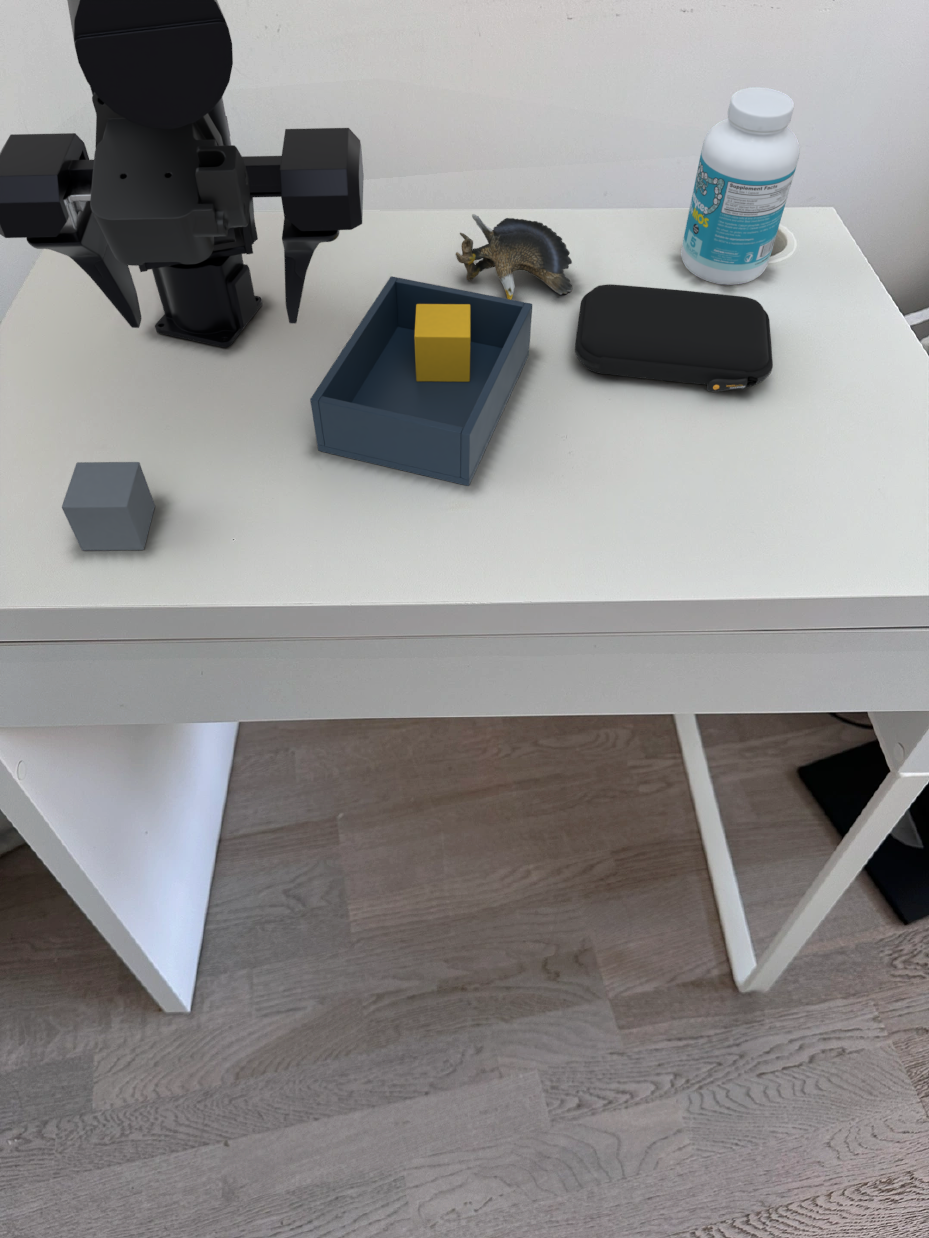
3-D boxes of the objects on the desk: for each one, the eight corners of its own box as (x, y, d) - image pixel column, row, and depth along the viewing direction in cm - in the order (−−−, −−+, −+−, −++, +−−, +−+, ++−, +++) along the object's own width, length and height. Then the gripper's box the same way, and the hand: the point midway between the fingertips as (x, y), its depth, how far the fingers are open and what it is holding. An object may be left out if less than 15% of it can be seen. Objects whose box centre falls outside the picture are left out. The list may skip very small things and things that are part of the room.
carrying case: (569, 389, 70) (768, 410, 69) (573, 355, 68) (780, 376, 67) (580, 306, 77) (762, 324, 76) (584, 273, 74) (773, 290, 73)
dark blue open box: (317, 451, 66) (309, 399, 63) (393, 327, 75) (390, 276, 71) (469, 486, 64) (469, 435, 61) (528, 355, 73) (532, 303, 69)
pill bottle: (678, 237, 83) (711, 75, 73) (763, 244, 83) (809, 81, 72) (678, 285, 79) (713, 120, 68) (768, 293, 78) (817, 127, 68)
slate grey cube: (81, 550, 60) (60, 507, 57) (95, 506, 63) (76, 461, 60) (144, 550, 60) (126, 506, 57) (155, 505, 63) (139, 461, 60)
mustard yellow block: (416, 382, 70) (414, 336, 67) (417, 349, 72) (416, 303, 69) (469, 382, 70) (470, 337, 67) (469, 349, 72) (470, 303, 69)
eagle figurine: (460, 308, 75) (574, 293, 73) (449, 211, 72) (566, 194, 71) (473, 306, 82) (577, 293, 80) (463, 218, 80) (569, 202, 78)
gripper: (-117, 115, 38) (24, 416, 51) (343, 106, 39) (371, 405, 51) (-41, 8, 45) (67, 296, 57) (350, 2, 46) (373, 288, 58)
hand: (215, 322), depth 56 cm, fingers open, 9 cm apart
